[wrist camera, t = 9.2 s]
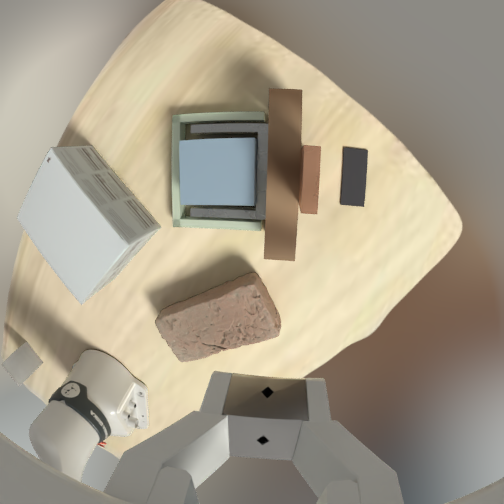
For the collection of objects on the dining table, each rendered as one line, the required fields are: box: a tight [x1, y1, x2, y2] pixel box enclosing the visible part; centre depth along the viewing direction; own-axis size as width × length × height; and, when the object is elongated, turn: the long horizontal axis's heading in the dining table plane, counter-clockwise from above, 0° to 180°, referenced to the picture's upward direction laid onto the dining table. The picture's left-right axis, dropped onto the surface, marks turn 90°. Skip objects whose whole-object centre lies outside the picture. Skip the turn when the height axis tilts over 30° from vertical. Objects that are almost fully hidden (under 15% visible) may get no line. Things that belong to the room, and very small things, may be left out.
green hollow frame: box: [172, 112, 266, 231], centre depth 34 cm, size 14×11×2 cm
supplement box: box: [17, 146, 161, 305], centre depth 34 cm, size 17×13×9 cm
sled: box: [190, 123, 321, 220], centre depth 27 cm, size 11×14×13 cm
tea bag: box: [2, 341, 43, 386], centre depth 48 cm, size 4×7×10 cm, turn 39°
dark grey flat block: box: [340, 148, 368, 207], centre depth 33 cm, size 7×3×1 cm, turn 178°
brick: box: [155, 273, 281, 362], centre depth 39 cm, size 17×8×5 cm, turn 116°
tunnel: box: [264, 89, 302, 261], centre depth 30 cm, size 16×3×8 cm, turn 179°
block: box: [179, 138, 258, 206], centre depth 32 cm, size 7×8×6 cm
